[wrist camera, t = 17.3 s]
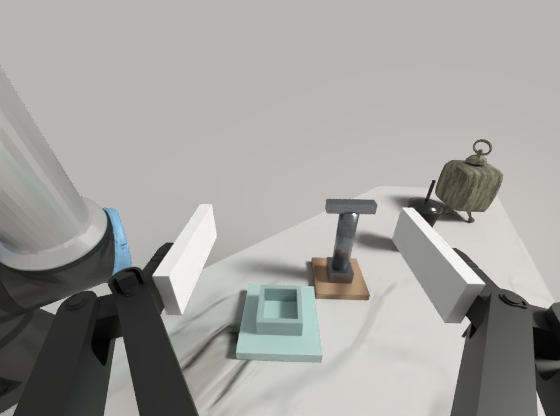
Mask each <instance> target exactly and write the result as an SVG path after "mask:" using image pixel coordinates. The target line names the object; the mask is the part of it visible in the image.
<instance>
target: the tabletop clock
mask: <svg viewBox="0 0 560 416" xmlns="http://www.w3.org/2000/svg"><path fill="white" fill-rule="evenodd" d="M478 142H485V143H487V144H488V145H489V147H490V150H489V152H488V153H482V152H483V150H481V149H480V150H478V151H477V150H476V148H475V145H476V143H478ZM473 150H474V151H475V153H477V155H471V156H469V157H468V158H467V159H466V160H451V161H450V162H448V163H446V164H445V166H444V168H443V170H442V172H441V174H440V177H439V180H438V183H437V186H436V189H435V194H436V196H437V197H438V198H439V199H440V200H441V201H442V202H443V203H445V204H446V205H448V206H449V207H448V209H445V210H444V213H445V214H448V213H449V212H450V211H449V209H450V208H452V209H454V210H456V211H466V212H467V213H468V215H469V219H468V221H469V222H474V221H475V220H474V218H472V217H471V212H484V211H485V210H486V209H487V208H488V207H489V206H490V205H491V203H492V201H493V200H494V198H495V196H496V194H497V192H498V190H499V188H500V186H501V183H502V179H503V174H502V173H501V171H500V170H498V169H497V168H495V167H493V166H492V165H490V164H487V161H486V158H485V157H484V156H481V155H488V154H489V153H490V152H491V150H492V145H491V143H490V142H488V141H486V140H483V139H480V140H477V141H476V142H475V143H474V145H473Z"/></svg>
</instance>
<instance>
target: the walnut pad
mask: <svg viewBox="0 0 560 416" xmlns="http://www.w3.org/2000/svg"><path fill="white" fill-rule="evenodd" d="M326 260H327V258H312V270H313V278H314V286H315V294H316V299H351V300H369V296H370V294H369V292H368V289H367V286H366V284H365V281H364V278H363V276H362V273H361V270H360V268H359V265H358V262H357V260H356V259H351V258H350V263H351V266H352V269H353V272H354V276H353V281H352V284H343V283H329V281H328V276H327V271H326Z"/></svg>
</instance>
